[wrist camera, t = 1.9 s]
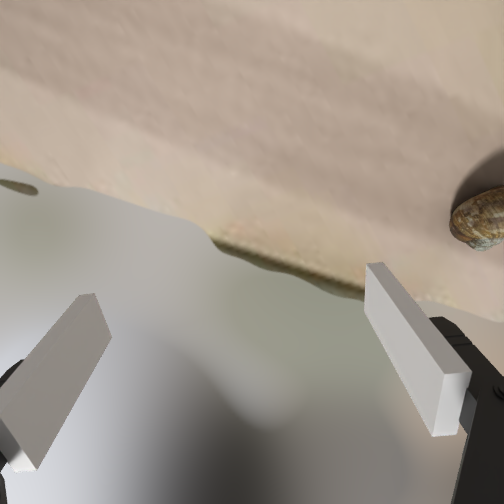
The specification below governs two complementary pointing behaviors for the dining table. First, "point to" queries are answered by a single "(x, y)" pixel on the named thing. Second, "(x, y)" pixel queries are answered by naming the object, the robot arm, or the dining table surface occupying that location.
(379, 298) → the robot arm
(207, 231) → the dining table surface
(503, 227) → the seashell
